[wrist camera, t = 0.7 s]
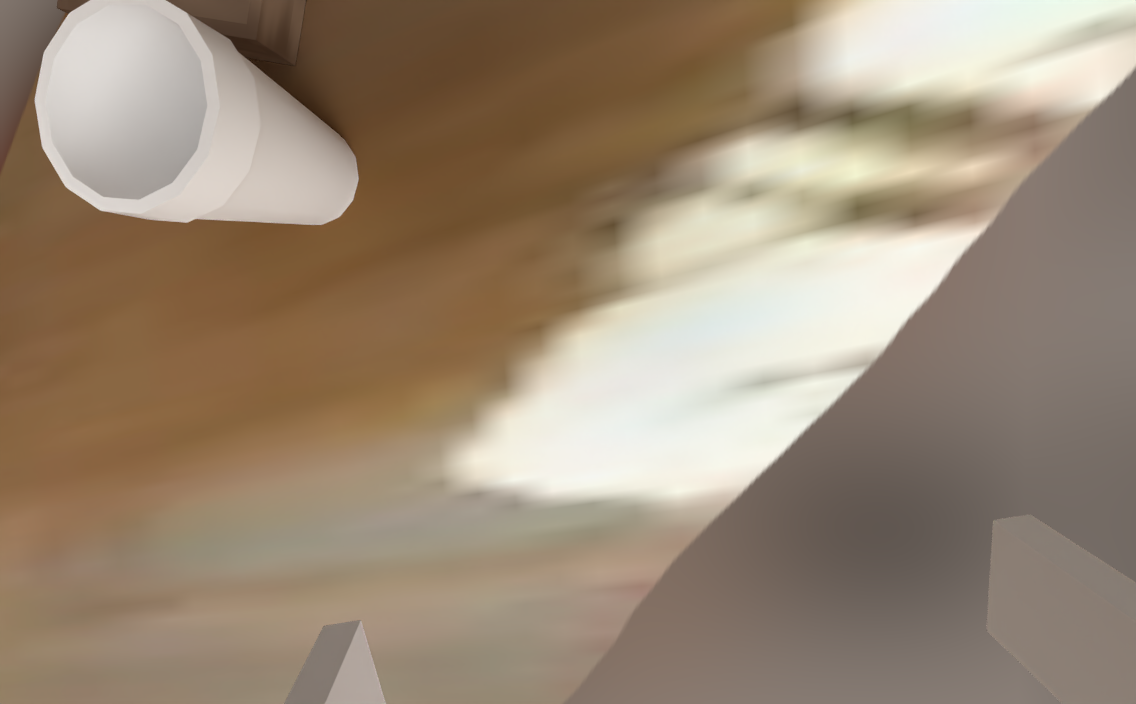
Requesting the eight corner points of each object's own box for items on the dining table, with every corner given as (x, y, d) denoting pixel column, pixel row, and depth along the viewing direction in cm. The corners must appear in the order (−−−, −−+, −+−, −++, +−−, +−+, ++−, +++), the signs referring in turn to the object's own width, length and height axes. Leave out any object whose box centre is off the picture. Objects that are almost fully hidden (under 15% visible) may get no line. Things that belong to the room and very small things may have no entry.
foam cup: (229, 203, 38) (6, 146, 25) (289, 77, 37) (84, -49, 24) (340, 274, 37) (163, 253, 24) (405, 148, 36) (255, 53, 23)
